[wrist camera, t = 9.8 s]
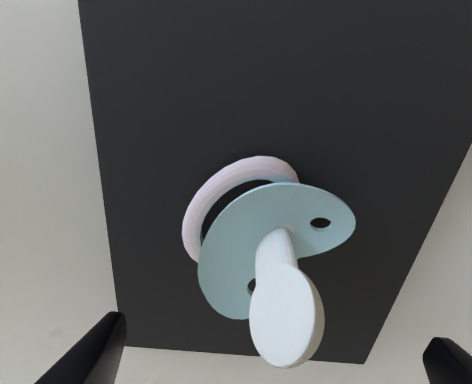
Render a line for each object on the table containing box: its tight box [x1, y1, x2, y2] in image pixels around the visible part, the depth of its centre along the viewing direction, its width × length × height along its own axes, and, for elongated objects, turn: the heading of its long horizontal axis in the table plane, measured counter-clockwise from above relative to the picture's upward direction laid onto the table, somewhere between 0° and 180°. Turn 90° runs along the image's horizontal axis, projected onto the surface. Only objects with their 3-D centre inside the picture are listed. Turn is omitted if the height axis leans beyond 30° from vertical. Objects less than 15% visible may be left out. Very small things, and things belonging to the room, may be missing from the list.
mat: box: [78, 0, 472, 364], centre depth 14 cm, size 15×20×1 cm
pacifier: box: [182, 156, 356, 368], centre depth 11 cm, size 7×6×6 cm
